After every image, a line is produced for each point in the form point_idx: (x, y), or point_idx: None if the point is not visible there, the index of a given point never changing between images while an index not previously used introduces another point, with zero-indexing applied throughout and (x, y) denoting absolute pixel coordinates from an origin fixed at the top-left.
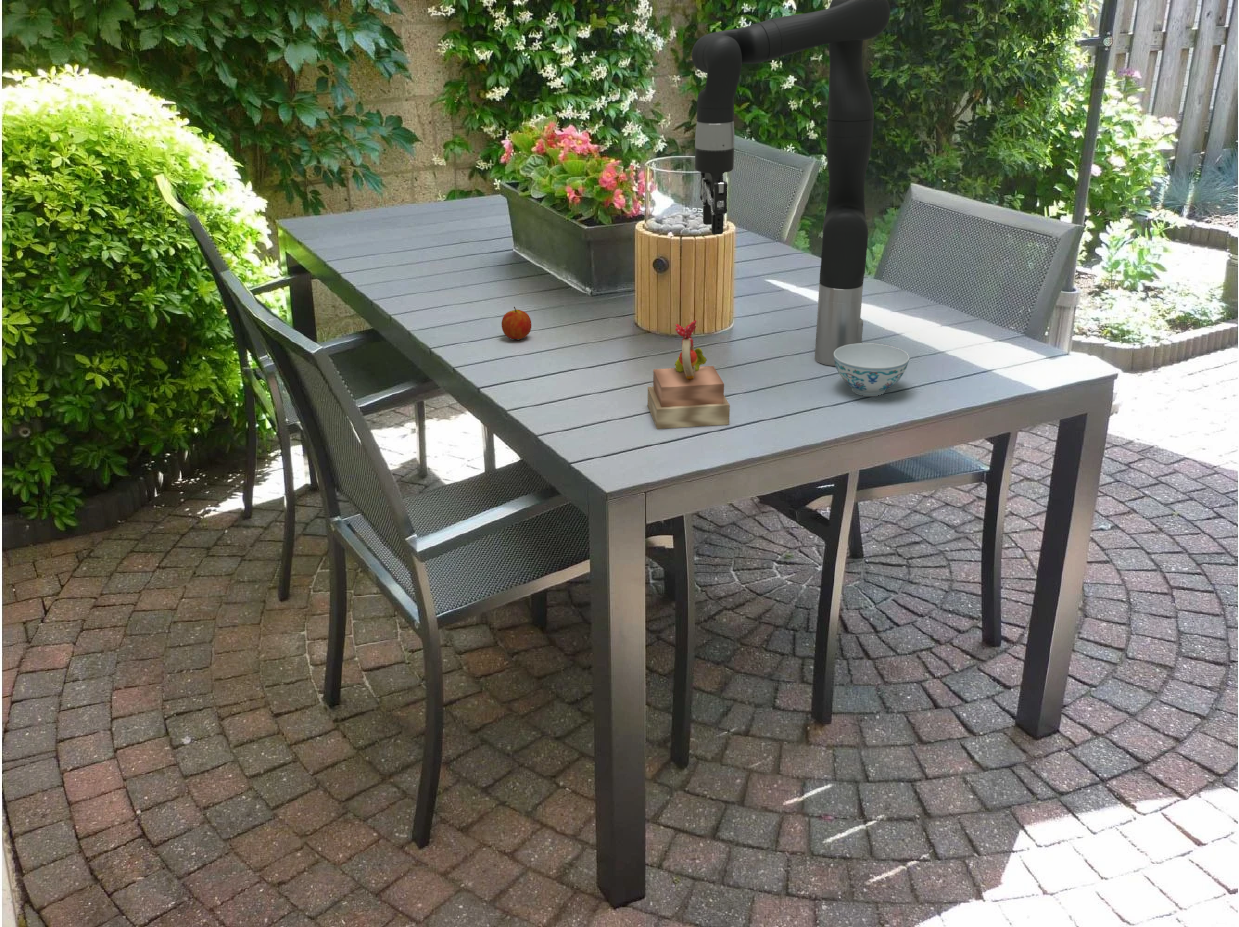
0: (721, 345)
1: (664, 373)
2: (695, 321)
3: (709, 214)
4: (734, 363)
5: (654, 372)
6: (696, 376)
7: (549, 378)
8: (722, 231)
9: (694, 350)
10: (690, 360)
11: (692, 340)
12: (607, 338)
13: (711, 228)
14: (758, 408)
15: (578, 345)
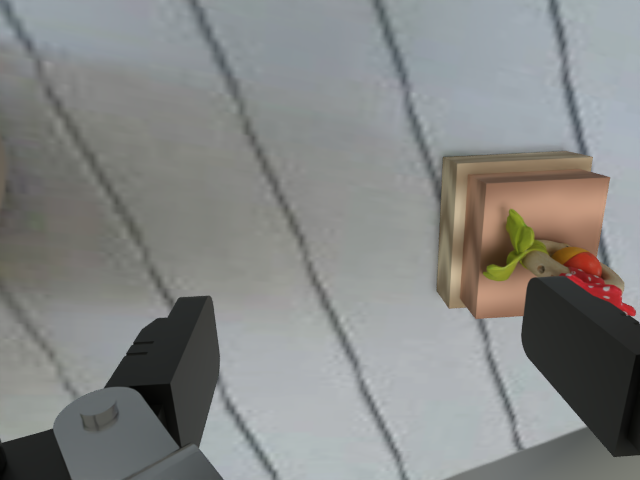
0: (64, 79)
1: (506, 298)
2: (621, 290)
3: (200, 375)
4: (206, 70)
5: (491, 317)
6: (545, 233)
7: (272, 442)
8: (566, 282)
9: (539, 252)
10: (612, 271)
11: (588, 275)
12: (27, 340)
13: (542, 371)
14: (500, 70)
15: (80, 396)
